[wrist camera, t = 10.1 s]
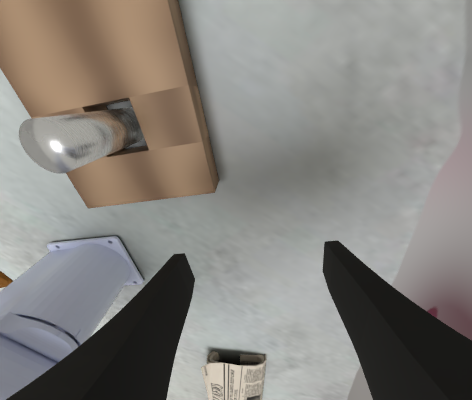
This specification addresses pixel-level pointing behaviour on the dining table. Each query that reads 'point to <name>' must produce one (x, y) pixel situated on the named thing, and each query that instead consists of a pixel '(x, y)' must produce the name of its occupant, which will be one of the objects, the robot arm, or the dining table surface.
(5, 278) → the primitive tool
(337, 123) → the dining table surface
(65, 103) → the tool stand
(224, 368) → the newspaper
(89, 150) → the steel peg
